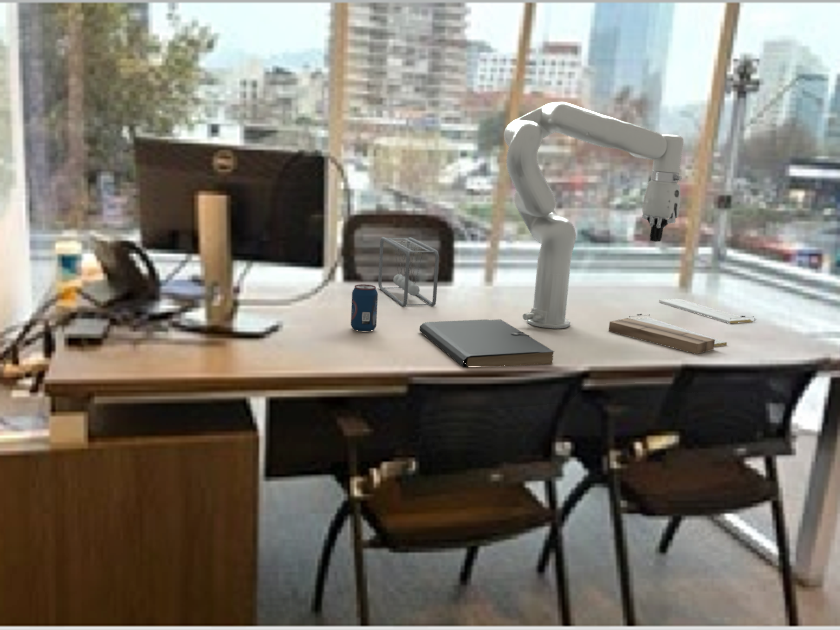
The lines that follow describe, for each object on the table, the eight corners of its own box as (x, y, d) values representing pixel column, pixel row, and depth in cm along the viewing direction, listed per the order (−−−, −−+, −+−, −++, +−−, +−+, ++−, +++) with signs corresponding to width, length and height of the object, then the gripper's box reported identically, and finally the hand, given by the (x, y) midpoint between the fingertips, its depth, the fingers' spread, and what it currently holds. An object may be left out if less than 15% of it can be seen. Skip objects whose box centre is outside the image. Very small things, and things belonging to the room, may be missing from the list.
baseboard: (700, 350, 233) (726, 347, 238) (702, 340, 232) (727, 337, 237) (624, 324, 258) (648, 322, 263) (625, 315, 258) (649, 313, 263)
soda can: (349, 326, 234) (350, 283, 231) (374, 326, 235) (376, 284, 233) (352, 332, 227) (354, 288, 225) (378, 333, 229) (380, 289, 226)
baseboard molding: (684, 302, 296) (658, 304, 291) (685, 294, 296) (659, 296, 290) (756, 323, 270) (729, 326, 264) (757, 314, 269) (730, 316, 264)
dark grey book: (555, 350, 208) (463, 355, 201) (554, 366, 209) (462, 371, 202) (501, 318, 239) (419, 321, 231) (500, 332, 240) (419, 335, 232)
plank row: (696, 354, 226) (697, 343, 225) (608, 331, 246) (609, 321, 245) (713, 349, 232) (715, 339, 231) (626, 327, 252) (627, 317, 251)
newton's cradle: (377, 288, 287) (380, 235, 283) (407, 287, 291) (409, 236, 287) (403, 308, 260) (407, 250, 256) (436, 307, 263) (439, 251, 259)
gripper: (694, 181, 243) (684, 244, 247) (650, 175, 254) (641, 236, 258) (679, 180, 238) (669, 245, 243) (635, 175, 249) (626, 237, 253)
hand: (655, 240), depth 250 cm, fingers closed
